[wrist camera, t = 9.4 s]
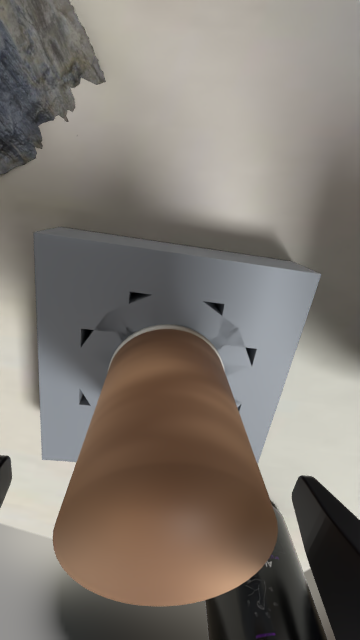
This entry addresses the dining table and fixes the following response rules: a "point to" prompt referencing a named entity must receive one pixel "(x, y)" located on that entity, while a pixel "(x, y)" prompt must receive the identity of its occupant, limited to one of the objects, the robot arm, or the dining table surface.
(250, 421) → the board
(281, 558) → the supplement bottle
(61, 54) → the driftwood
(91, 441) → the peg
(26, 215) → the dining table surface
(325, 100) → the dining table surface
